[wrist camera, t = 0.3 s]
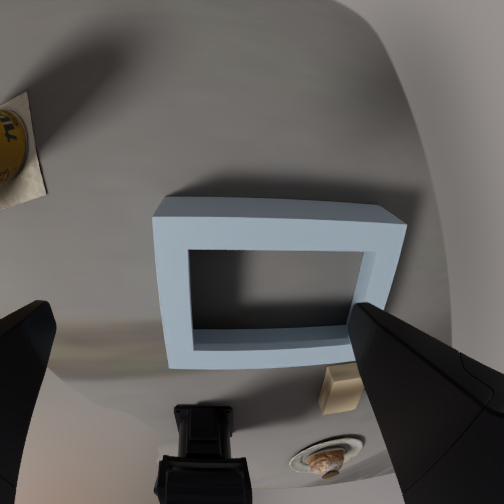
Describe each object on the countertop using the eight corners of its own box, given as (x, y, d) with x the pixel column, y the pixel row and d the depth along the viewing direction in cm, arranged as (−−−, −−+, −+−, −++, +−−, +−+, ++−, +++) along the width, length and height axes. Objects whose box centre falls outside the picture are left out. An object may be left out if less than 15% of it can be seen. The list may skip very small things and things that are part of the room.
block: (348, 393, 33) (355, 409, 30) (317, 398, 32) (322, 415, 30) (361, 359, 30) (369, 375, 28) (326, 364, 30) (333, 381, 27)
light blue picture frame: (349, 328, 27) (365, 359, 24) (174, 333, 26) (169, 368, 22) (378, 205, 22) (407, 224, 18) (164, 196, 21) (152, 216, 17)
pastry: (301, 436, 36) (308, 463, 32) (373, 428, 38) (383, 451, 34) (279, 469, 41) (283, 492, 37) (342, 463, 43) (349, 483, 39)
